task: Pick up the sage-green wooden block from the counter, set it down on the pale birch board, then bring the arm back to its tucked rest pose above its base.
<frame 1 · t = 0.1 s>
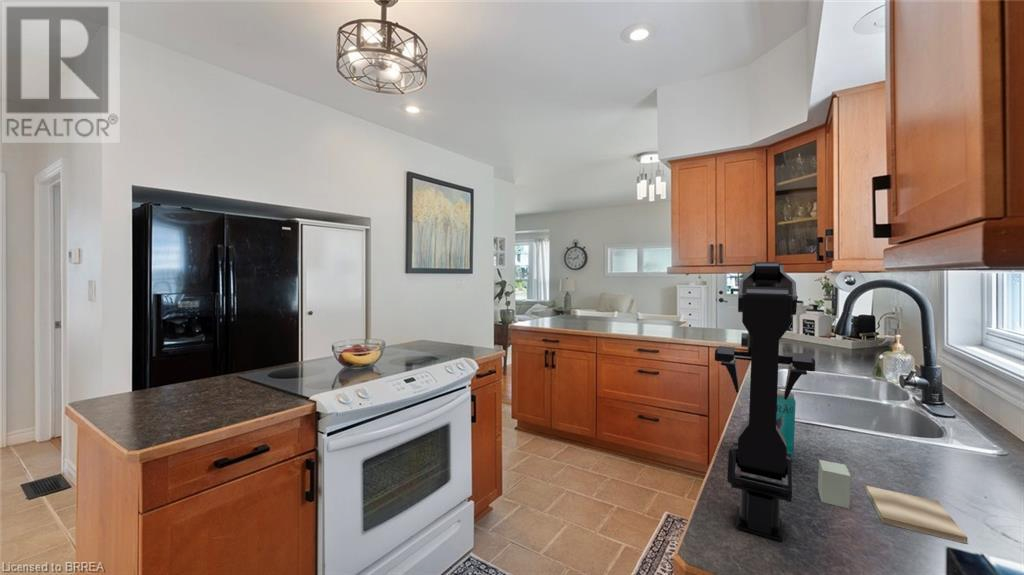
hand: (760, 395, 91), 15 cm above the countertop, tool pointing down, fingers open, 9 cm apart
block: (833, 498, 76), on the countertop
beverage can: (778, 458, 93), on the countertop
board: (911, 514, 71), on the countertop
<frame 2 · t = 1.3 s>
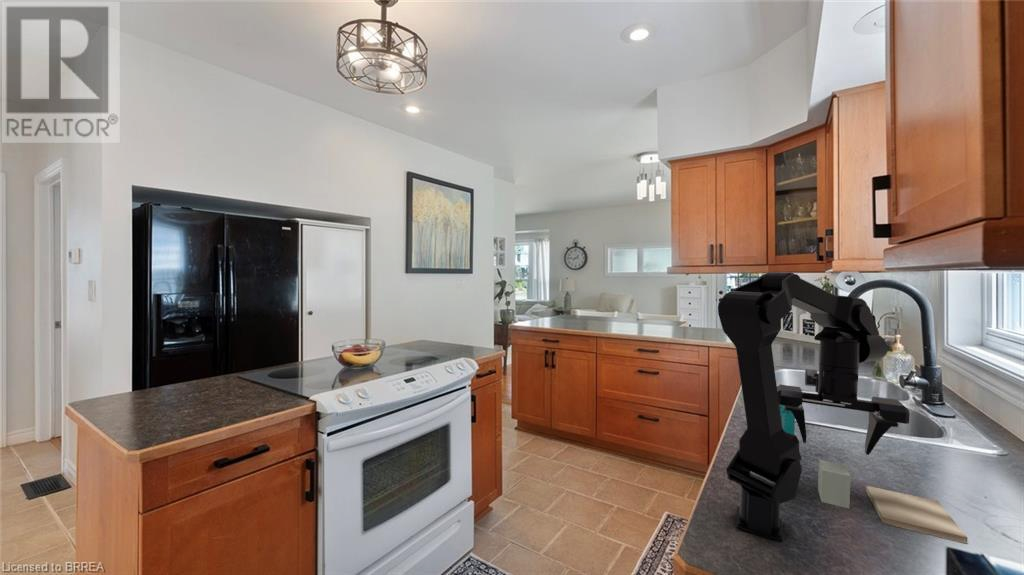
hand: (834, 447, 76), 10 cm above the countertop, tool pointing down, fingers open, 9 cm apart
nothing on the countertop moved.
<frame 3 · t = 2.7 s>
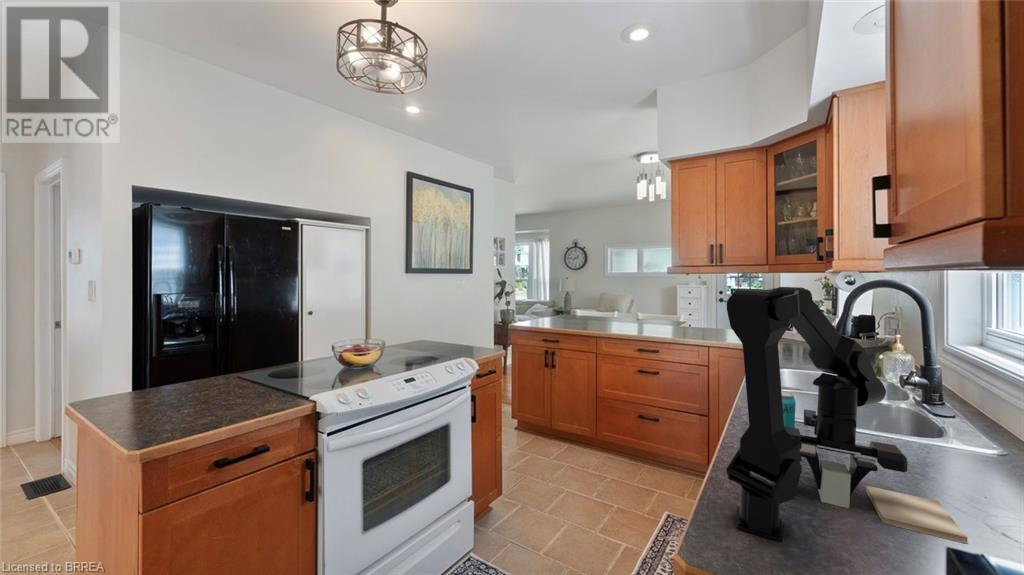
hand: (833, 491, 76), 1 cm above the countertop, tool pointing down, fingers closed on block, 4 cm apart
block: (832, 498, 76), on the countertop, touching gripper
everything else where it was.
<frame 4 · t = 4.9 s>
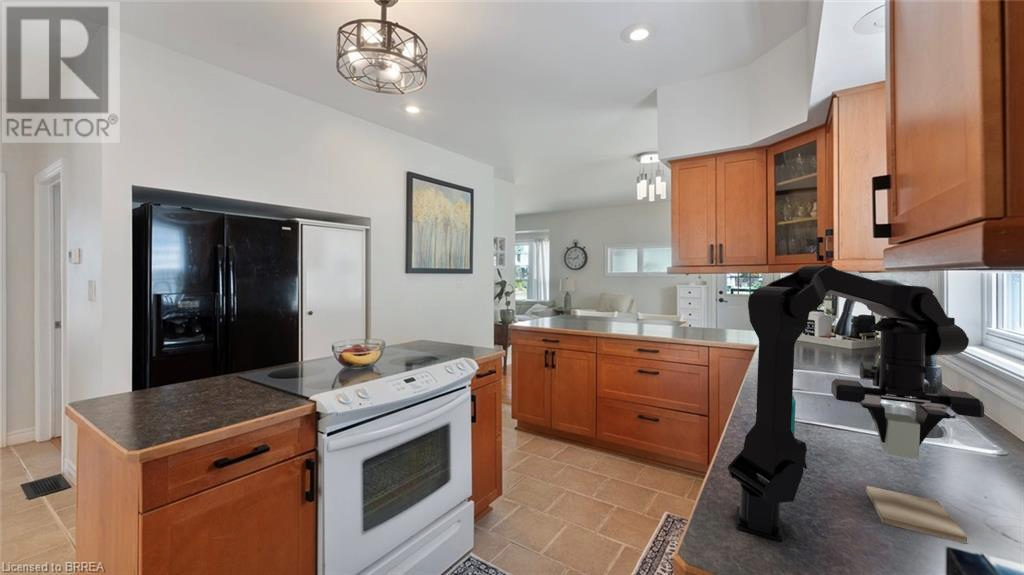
hand: (898, 444, 72), 12 cm above the countertop, tool pointing down, fingers closed on block, 4 cm apart
block: (898, 451, 72), point 11 cm above the countertop, touching gripper
everything else where it was.
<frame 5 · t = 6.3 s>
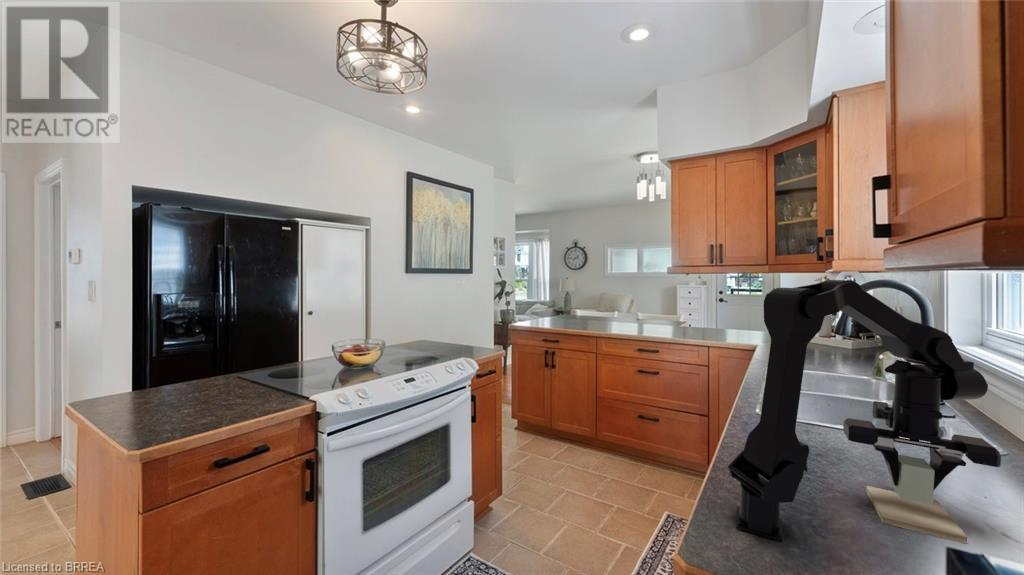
hand: (912, 488, 71), 5 cm above the countertop, tool pointing down, fingers closed on block, 4 cm apart
block: (911, 495, 71), point 3 cm above the countertop, touching gripper
everything else where it was.
when the fingers open (4 cm above the countertop, at t = 7.2 s): block drops 1 cm, resting on board.
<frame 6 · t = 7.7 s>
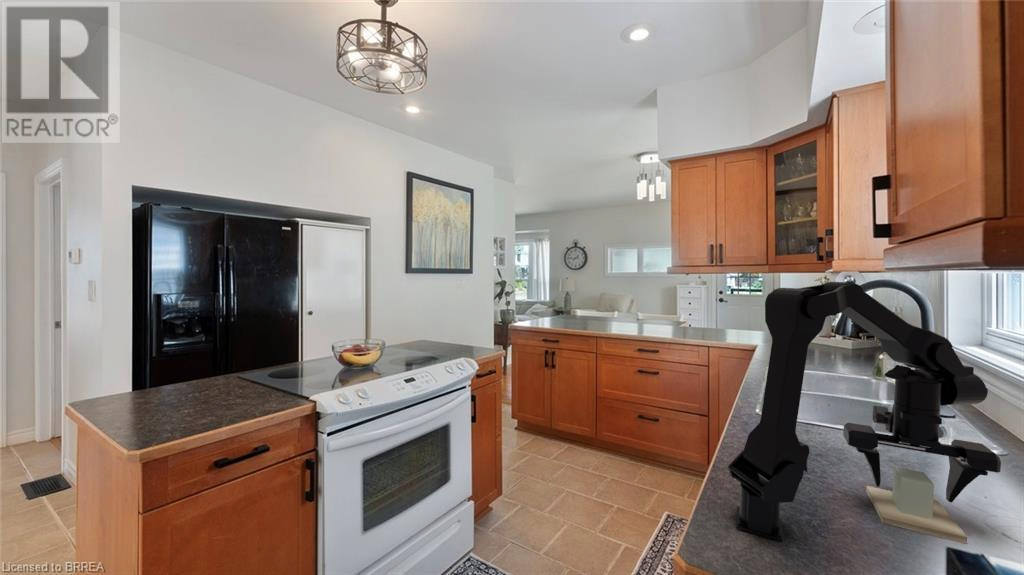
hand: (911, 493, 71), 4 cm above the countertop, tool pointing down, fingers open, 9 cm apart
block: (911, 508, 71), point 1 cm above the countertop, touching board
everything else where it was.
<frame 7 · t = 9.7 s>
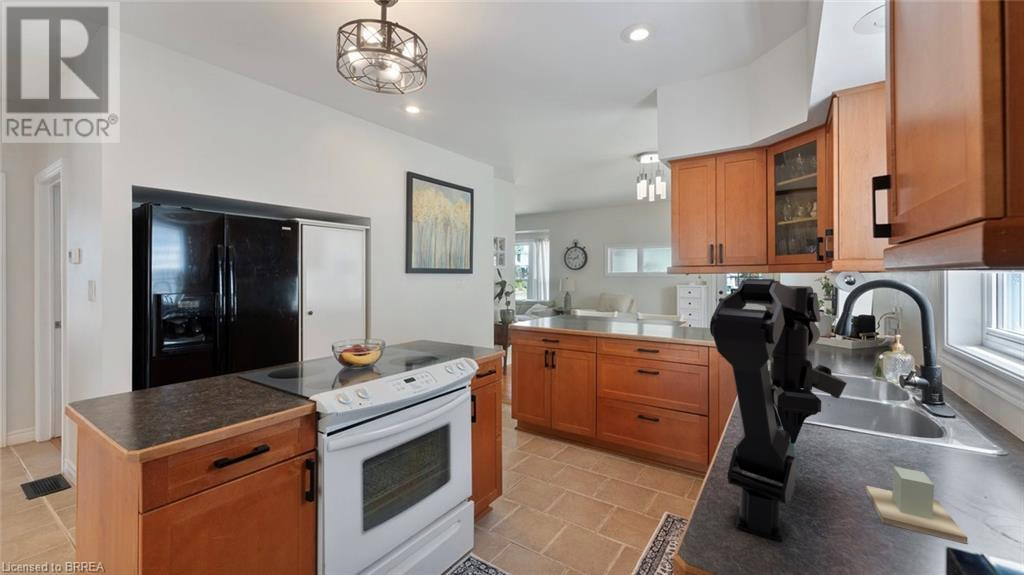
hand: (785, 434, 77), 12 cm above the countertop, tool pointing down, fingers open, 9 cm apart
nothing on the countertop moved.
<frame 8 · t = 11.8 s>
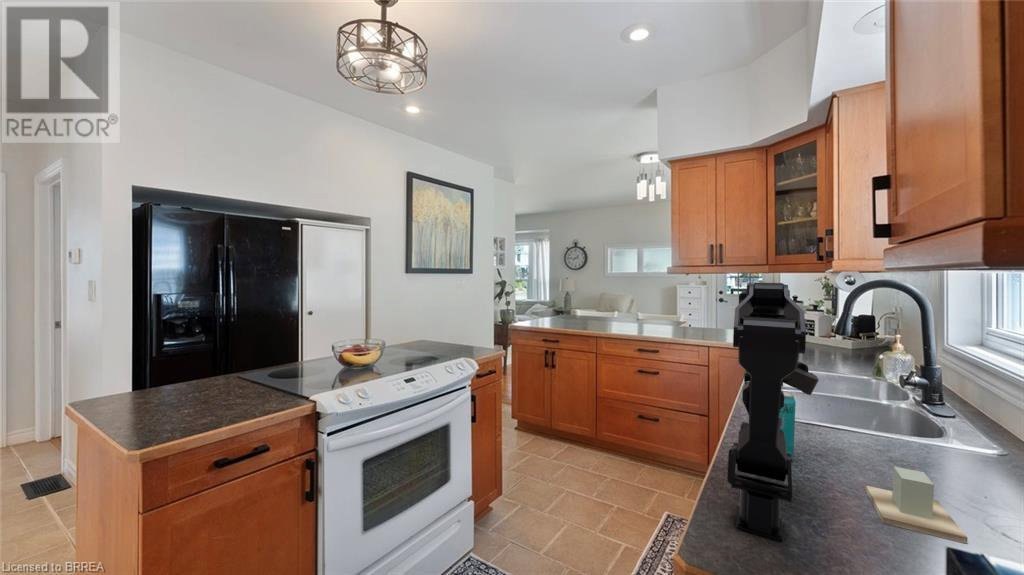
hand: (760, 428, 78), 12 cm above the countertop, tool pointing down, fingers open, 9 cm apart
nothing on the countertop moved.
at the end: block inside the target area on the board (0.0 cm from its centre), point 1.0 cm above the board's base; block tilted 0°; the gripper is holding nothing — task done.
